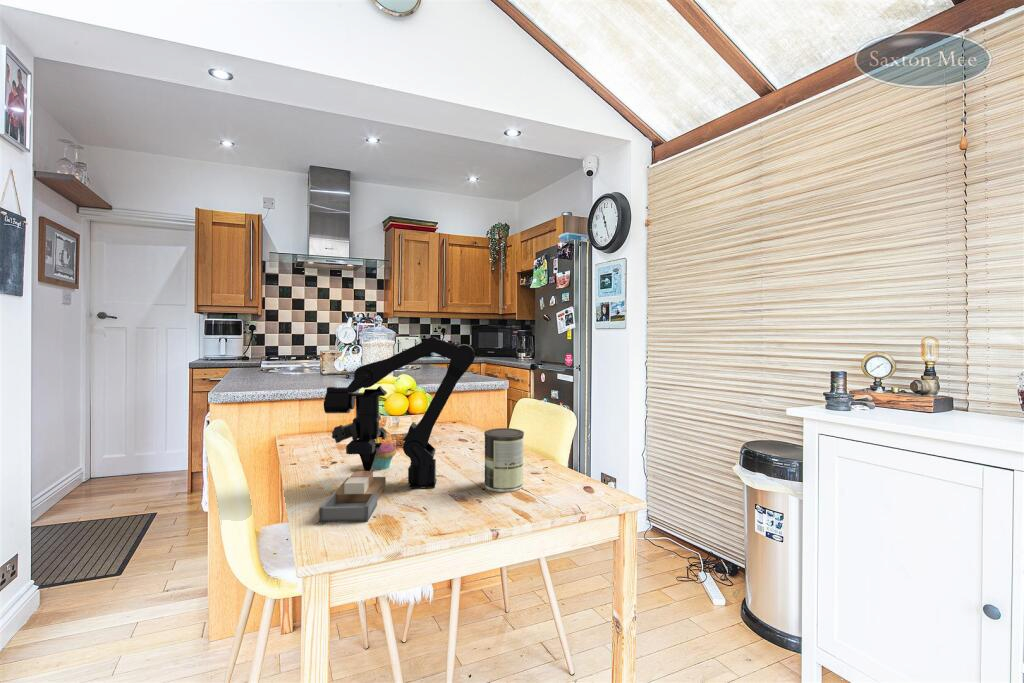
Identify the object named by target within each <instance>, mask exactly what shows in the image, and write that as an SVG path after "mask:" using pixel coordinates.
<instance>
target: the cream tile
mask: <svg viewBox="0 0 1024 683" xmlns="http://www.w3.org/2000/svg"><path fill="white" fill-rule="evenodd" d="M343 483H344V482H343ZM368 488H369V477H350V476H349V479H348V480H347V481H346V482H345V483H344V494H365V492H366V491H367V489H368Z"/></svg>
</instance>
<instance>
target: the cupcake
mask: <svg viewBox="0 0 1024 683" xmlns="http://www.w3.org/2000/svg"><path fill="white" fill-rule="evenodd" d="M379 438H380V437H378V438H377V439H375V440H376V443H380V440H379ZM381 443H382V445H381V447H380V449H379V452H378V454H377V456H376V459H375V461H374V464H373V466H372V469H375V470H386V469H388V468H390V466H391V465H390V464H391V462H392V460H393V457H394V456H395V455H396V454H397V449H396V446H394V445H393V444H391V443H389V442H381Z"/></svg>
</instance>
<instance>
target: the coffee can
mask: <svg viewBox="0 0 1024 683" xmlns="http://www.w3.org/2000/svg"><path fill="white" fill-rule="evenodd" d="M483 435H484V488H485V489H487V491H488V490H489V491H491V492H496V493H511V492H515V491H516V492H517V491H519V490H520V489H522V488H524V436H525V432H524V431H523V430H521V429H517V428H510V427H509V428H508V427H506V428H505V427H502V428H500V427H499V428H491V429H490V428H489V429H488V430H485V431H484V433H483Z"/></svg>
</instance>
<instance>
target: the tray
mask: <svg viewBox="0 0 1024 683" xmlns="http://www.w3.org/2000/svg"><path fill="white" fill-rule="evenodd" d="M377 506H378V501H377V492H373V494H372V495H371V497H370V499H369V500H368V502H367V503H336V493H335V492H331V494H330V495H329V497H328V498H327V499H326V500H325V501H324V502H323V503H322V504H321V505H320V507H319V508H318V523H320V524H321V523H322V524H324V523H325V524H326V523H329V524H330V523H359V522H360V523H364V522H369V520H370V518H371V517H372V515H373V513H374V512H375V510H376V508H377Z"/></svg>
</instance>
